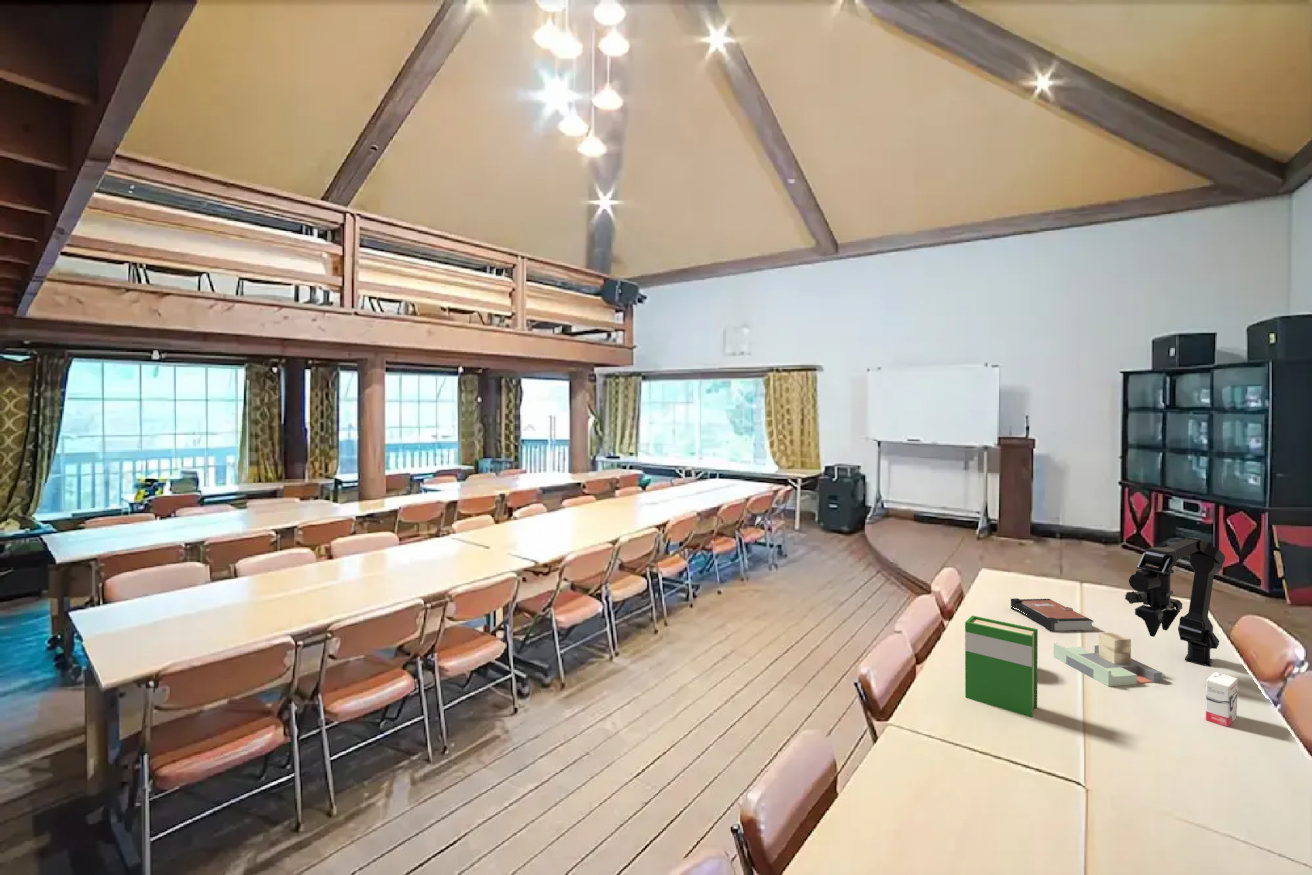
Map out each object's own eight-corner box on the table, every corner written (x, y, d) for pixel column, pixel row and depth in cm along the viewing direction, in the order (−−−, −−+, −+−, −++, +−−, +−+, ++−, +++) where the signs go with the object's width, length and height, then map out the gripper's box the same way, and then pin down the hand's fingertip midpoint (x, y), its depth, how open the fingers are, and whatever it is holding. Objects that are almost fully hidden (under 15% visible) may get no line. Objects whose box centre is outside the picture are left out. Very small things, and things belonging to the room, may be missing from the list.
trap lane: (1102, 652, 207) (1102, 639, 206) (1162, 681, 185) (1162, 666, 185) (1053, 656, 205) (1053, 643, 204) (1108, 686, 183) (1108, 671, 183)
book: (1095, 631, 226) (1095, 619, 226) (1050, 632, 227) (1050, 620, 226) (1050, 608, 253) (1050, 597, 252) (1010, 609, 253) (1010, 598, 253)
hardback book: (1037, 707, 172) (1037, 628, 171) (1031, 717, 166) (1032, 636, 165) (972, 688, 184) (972, 615, 183) (965, 697, 179) (965, 622, 178)
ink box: (1228, 727, 158) (1229, 686, 158) (1204, 719, 163) (1205, 679, 162) (1237, 717, 163) (1238, 677, 162) (1213, 710, 167) (1214, 671, 167)
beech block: (1114, 654, 198) (1114, 632, 198) (1130, 662, 192) (1130, 639, 192) (1098, 656, 198) (1098, 633, 197) (1114, 663, 192) (1114, 640, 191)
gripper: (1142, 576, 201) (1142, 619, 202) (1116, 586, 192) (1116, 631, 193) (1183, 584, 192) (1182, 629, 192) (1157, 595, 183) (1157, 642, 184)
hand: (1158, 633), depth 191 cm, fingers open, 9 cm apart
